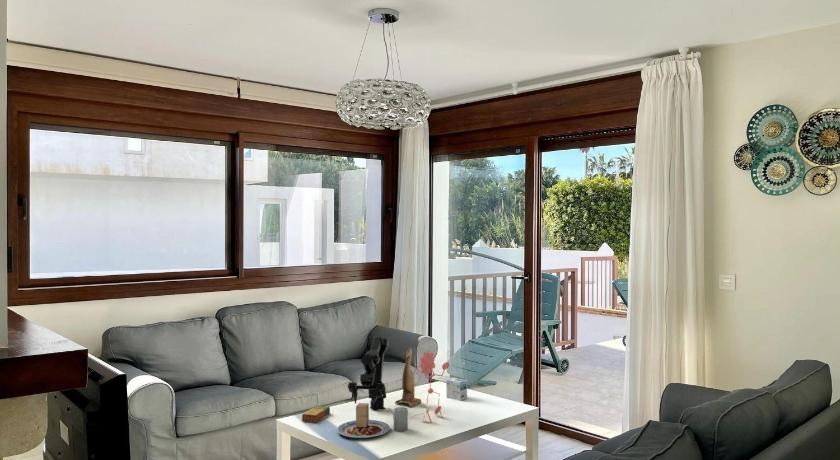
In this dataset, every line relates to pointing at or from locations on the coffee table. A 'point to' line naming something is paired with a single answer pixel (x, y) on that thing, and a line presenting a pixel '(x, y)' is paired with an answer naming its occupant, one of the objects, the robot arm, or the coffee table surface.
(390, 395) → the coffee table surface
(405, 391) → the bird sculpture
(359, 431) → the ceramic plate
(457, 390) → the light bulb box
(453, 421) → the coffee table surface
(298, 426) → the coffee table surface
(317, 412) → the carton
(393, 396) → the coffee table surface
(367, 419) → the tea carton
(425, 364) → the figurine
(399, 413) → the grey tapered cylinder
